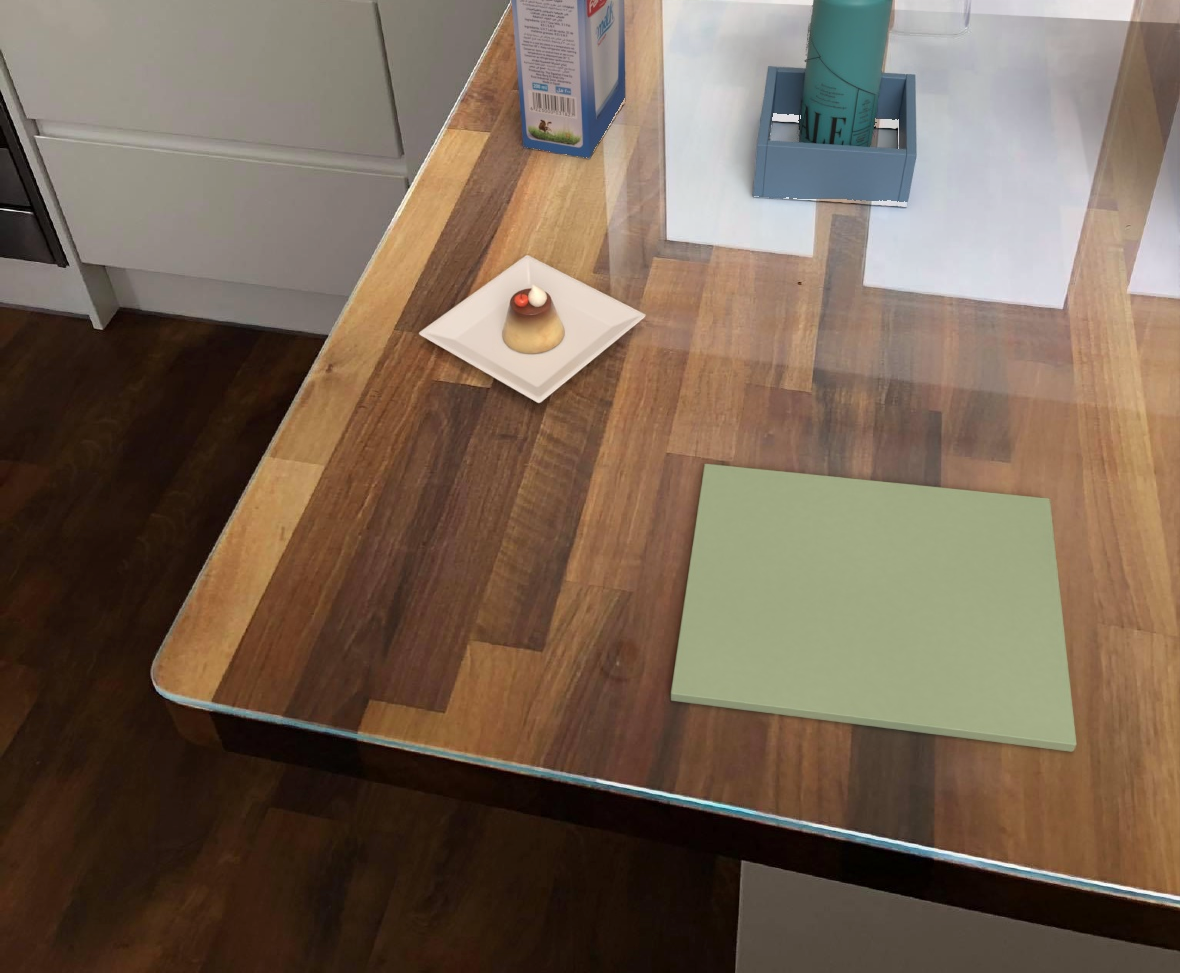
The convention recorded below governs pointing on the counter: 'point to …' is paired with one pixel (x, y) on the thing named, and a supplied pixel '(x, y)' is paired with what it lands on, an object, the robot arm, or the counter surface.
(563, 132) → the milk carton
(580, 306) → the dessert
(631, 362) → the counter surface
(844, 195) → the box
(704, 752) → the counter surface
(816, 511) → the mat
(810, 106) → the beverage bottle
